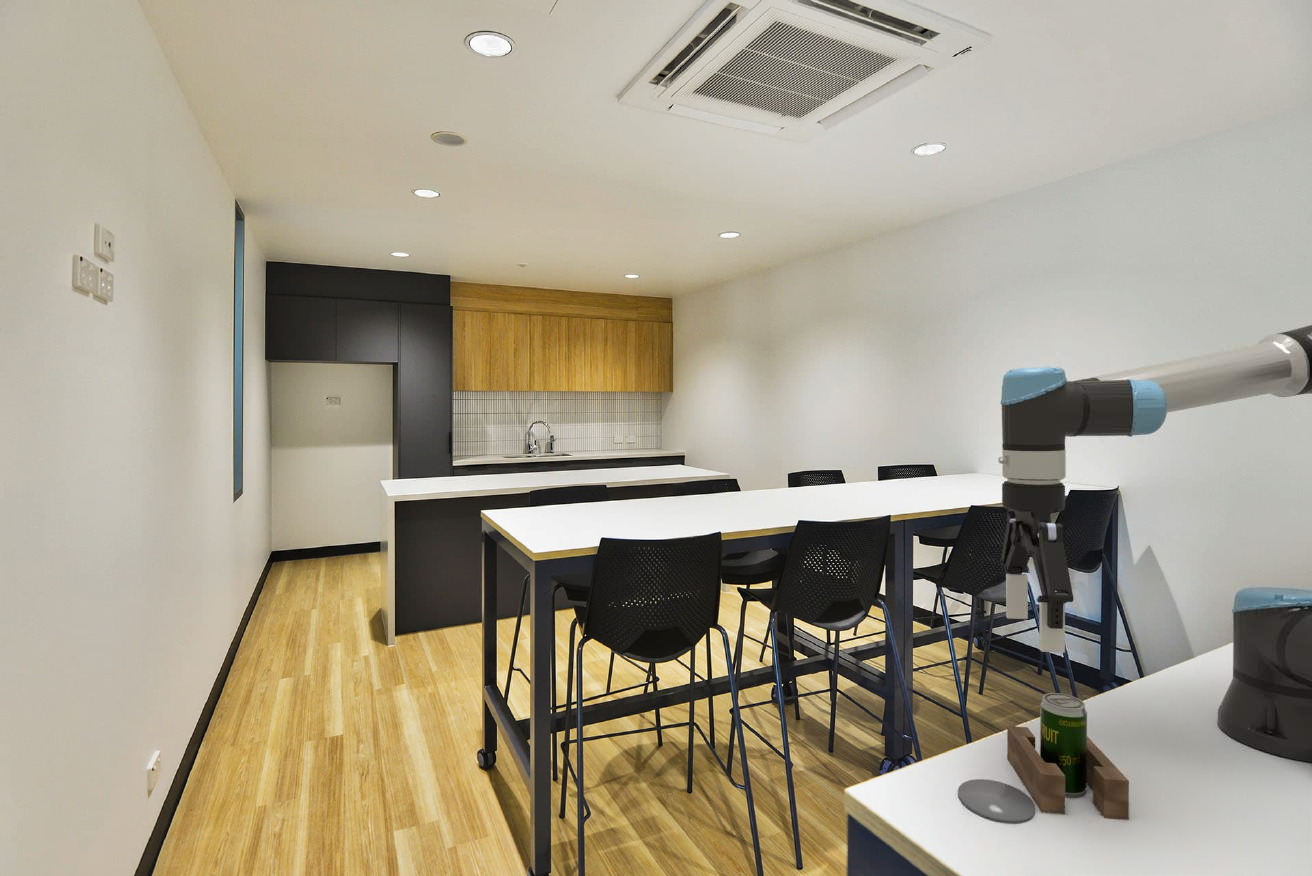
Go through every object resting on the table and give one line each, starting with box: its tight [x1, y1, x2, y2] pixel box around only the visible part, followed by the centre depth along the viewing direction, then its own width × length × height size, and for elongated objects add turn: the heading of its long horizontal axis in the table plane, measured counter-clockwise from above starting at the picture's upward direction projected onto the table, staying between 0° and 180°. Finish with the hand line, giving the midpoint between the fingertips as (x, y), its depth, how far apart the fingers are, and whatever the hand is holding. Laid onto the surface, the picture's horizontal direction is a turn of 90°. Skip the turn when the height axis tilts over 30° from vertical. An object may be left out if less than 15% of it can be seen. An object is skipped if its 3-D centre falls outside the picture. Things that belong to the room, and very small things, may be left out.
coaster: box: [957, 778, 1036, 824], centre depth 87 cm, size 9×9×1 cm
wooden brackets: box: [1006, 725, 1130, 821], centre depth 90 cm, size 10×13×5 cm
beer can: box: [1039, 692, 1088, 798], centre depth 90 cm, size 5×5×12 cm
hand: (1033, 633), depth 91 cm, fingers open, 13 cm apart
